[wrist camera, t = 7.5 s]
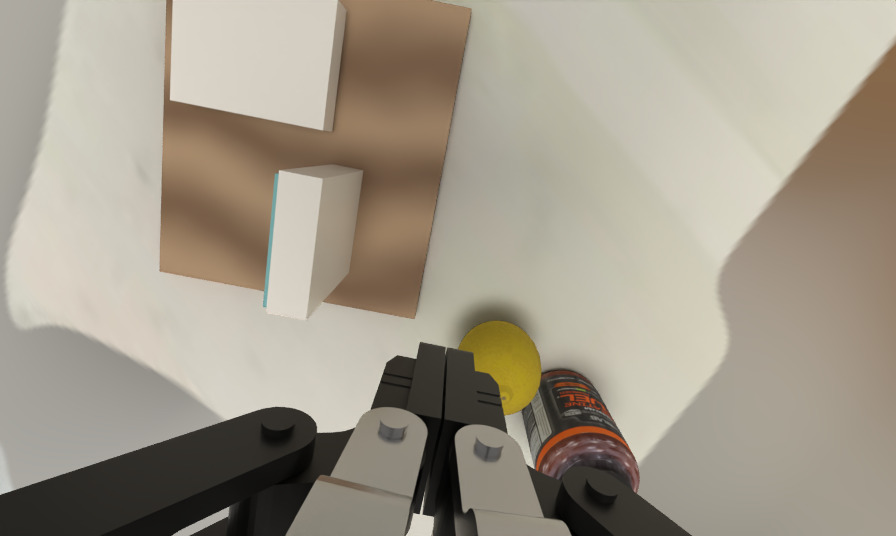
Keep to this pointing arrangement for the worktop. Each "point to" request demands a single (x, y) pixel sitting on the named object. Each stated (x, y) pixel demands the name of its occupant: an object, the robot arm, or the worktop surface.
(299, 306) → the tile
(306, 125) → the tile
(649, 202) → the worktop surface
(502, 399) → the lemon
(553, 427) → the supplement bottle
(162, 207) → the board
